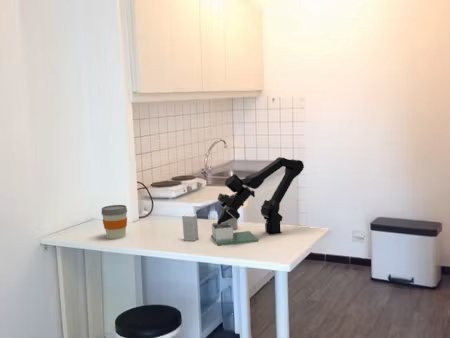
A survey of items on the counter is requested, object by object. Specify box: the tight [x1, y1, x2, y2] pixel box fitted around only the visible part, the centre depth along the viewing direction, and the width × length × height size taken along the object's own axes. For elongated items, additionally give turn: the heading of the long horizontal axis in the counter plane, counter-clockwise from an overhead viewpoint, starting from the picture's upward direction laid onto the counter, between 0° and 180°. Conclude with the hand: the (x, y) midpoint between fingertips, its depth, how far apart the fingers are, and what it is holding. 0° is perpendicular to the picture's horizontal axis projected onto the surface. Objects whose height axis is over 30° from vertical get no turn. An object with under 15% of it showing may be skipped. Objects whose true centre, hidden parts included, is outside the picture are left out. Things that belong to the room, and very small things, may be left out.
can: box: [223, 216, 239, 231], centre depth 264 cm, size 8×8×12 cm
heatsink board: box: [211, 223, 259, 246], centre depth 244 cm, size 19×16×8 cm
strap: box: [212, 222, 228, 226], centre depth 242 cm, size 7×4×1 cm, turn 102°
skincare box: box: [181, 213, 199, 242], centre depth 247 cm, size 6×4×12 cm
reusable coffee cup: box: [101, 204, 128, 240], centre depth 259 cm, size 13×13×15 cm
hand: (217, 223), depth 242 cm, fingers closed, pressing on strap
